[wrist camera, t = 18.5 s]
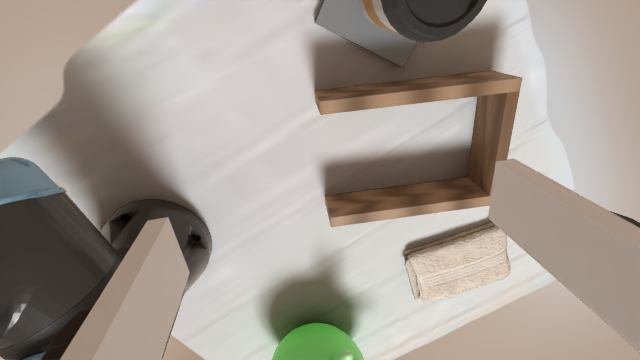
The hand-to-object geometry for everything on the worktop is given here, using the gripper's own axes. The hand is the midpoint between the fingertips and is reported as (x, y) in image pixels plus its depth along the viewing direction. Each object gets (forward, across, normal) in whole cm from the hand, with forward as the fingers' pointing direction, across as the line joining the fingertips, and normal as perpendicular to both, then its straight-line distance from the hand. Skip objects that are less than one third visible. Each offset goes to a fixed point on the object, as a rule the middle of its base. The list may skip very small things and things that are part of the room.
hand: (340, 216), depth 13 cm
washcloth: (+31, +24, -33) cm, 51 cm away
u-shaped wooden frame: (+30, +13, -10) cm, 35 cm away
